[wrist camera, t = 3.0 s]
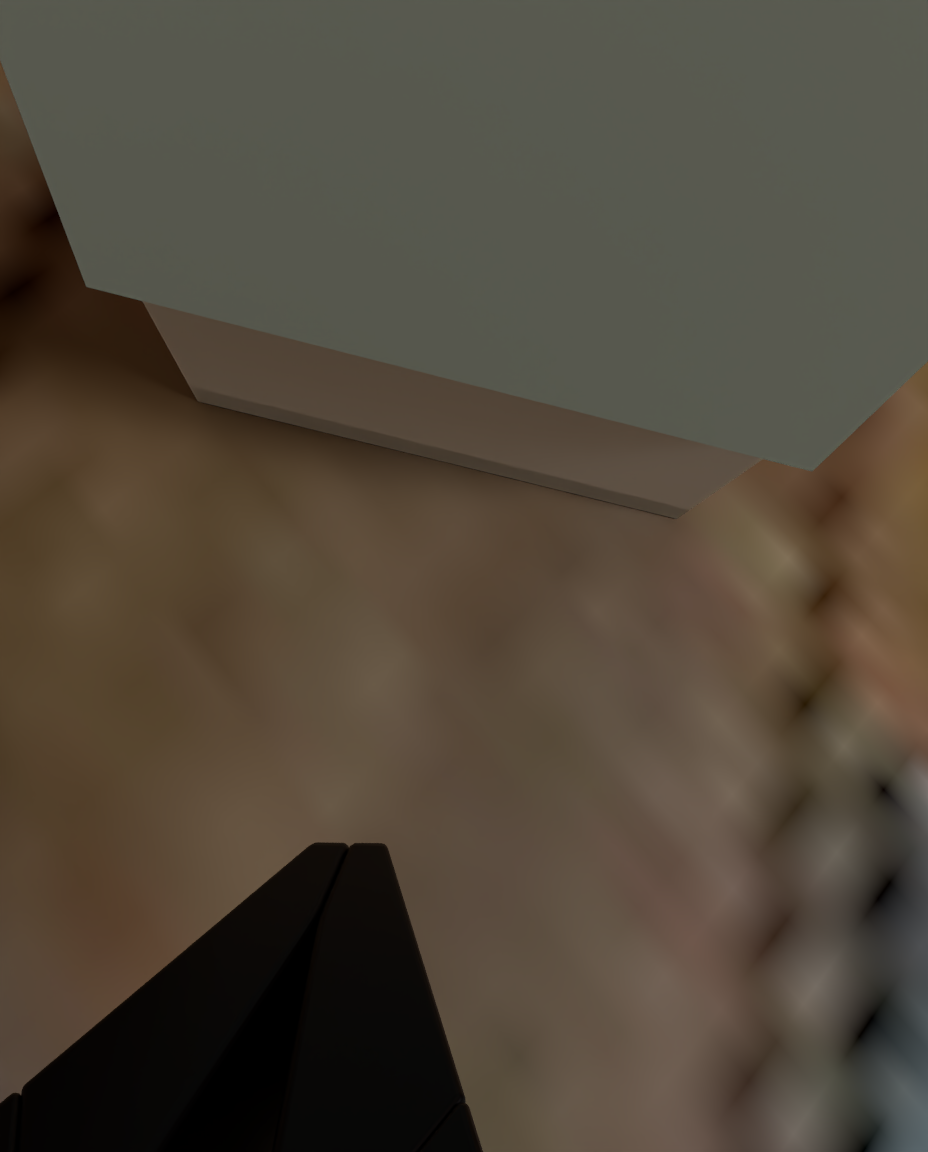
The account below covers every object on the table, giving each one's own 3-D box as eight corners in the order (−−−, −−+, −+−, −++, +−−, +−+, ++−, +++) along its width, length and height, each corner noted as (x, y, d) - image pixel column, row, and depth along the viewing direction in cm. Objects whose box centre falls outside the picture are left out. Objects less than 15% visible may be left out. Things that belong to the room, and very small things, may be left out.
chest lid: (809, 437, 16) (812, 471, 16) (105, 256, 15) (86, 286, 15) (1772, -554, 5) (1875, -542, 5) (-472, -1474, 4) (-619, -1572, 4)
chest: (676, 519, 23) (800, 432, 16) (197, 401, 22) (116, 255, 15) (719, 219, 26) (841, 39, 19) (296, 101, 25) (265, -135, 18)
